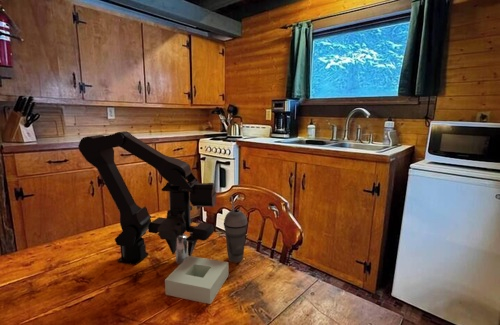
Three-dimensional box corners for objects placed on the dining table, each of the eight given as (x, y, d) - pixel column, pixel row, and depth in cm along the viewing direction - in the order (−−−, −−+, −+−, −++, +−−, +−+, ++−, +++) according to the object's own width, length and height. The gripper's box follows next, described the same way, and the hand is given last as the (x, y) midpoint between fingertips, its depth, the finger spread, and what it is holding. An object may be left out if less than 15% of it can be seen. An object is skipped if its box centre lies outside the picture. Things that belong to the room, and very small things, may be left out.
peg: (173, 263, 82) (172, 238, 80) (180, 257, 85) (179, 233, 84) (184, 265, 81) (183, 239, 79) (190, 259, 84) (189, 234, 83)
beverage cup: (244, 266, 80) (244, 200, 77) (220, 263, 82) (220, 199, 78) (249, 254, 87) (250, 193, 84) (227, 251, 89) (227, 192, 85)
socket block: (165, 294, 68) (164, 279, 67) (189, 268, 79) (188, 255, 78) (210, 304, 64) (210, 288, 64) (228, 275, 76) (228, 262, 75)
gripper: (134, 211, 75) (137, 263, 78) (196, 219, 70) (197, 275, 72) (158, 199, 85) (160, 245, 88) (213, 205, 80) (214, 254, 83)
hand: (181, 254), depth 83 cm, fingers open, 5 cm apart
